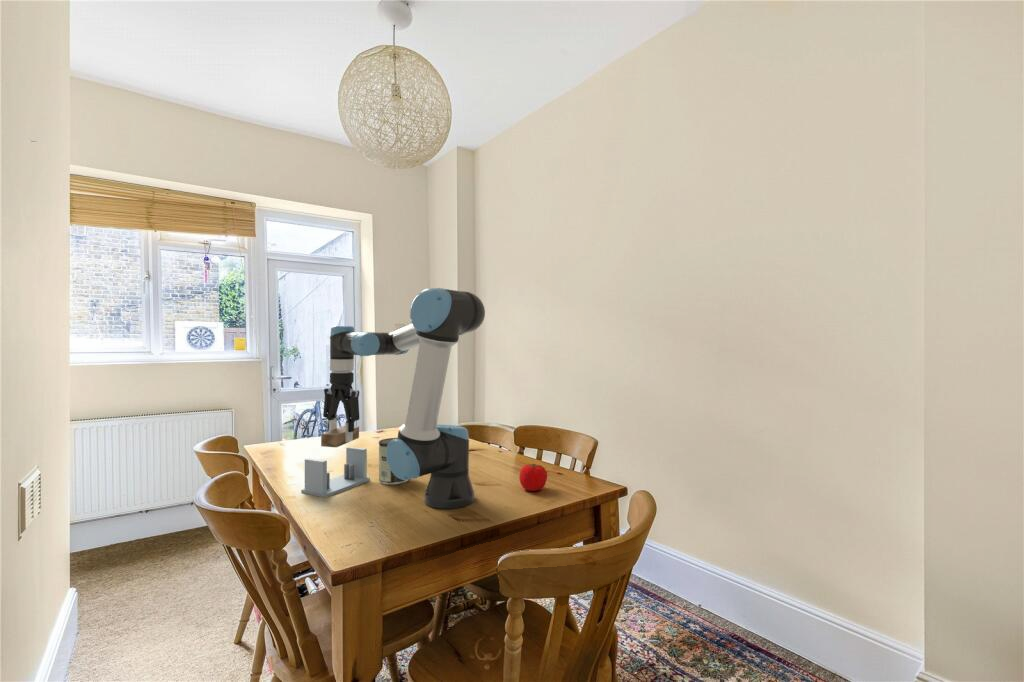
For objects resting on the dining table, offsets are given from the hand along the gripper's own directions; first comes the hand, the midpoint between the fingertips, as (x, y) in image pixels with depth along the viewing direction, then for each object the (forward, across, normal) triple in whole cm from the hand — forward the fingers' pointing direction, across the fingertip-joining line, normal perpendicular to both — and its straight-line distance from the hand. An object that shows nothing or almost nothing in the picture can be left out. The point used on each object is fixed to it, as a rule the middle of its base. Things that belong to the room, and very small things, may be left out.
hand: (340, 440), depth 155 cm
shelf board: (+1, 0, 0) cm, 1 cm away
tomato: (+15, -59, -26) cm, 66 cm away
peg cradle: (+16, +2, 0) cm, 16 cm away
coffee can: (+16, -12, -14) cm, 24 cm away
